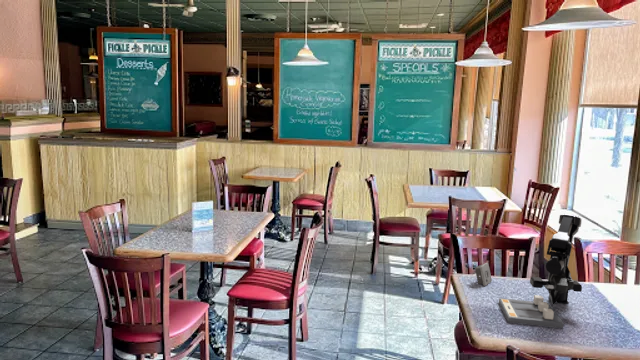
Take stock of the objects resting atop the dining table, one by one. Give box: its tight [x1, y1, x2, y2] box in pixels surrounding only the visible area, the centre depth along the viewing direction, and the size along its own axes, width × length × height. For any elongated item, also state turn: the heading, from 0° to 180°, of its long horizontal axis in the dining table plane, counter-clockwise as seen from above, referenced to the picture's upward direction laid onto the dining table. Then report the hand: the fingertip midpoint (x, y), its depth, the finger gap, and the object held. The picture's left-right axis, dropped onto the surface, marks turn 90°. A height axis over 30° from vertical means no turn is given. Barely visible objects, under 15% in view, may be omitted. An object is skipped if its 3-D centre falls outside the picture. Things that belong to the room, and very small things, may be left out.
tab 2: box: [543, 308, 554, 320], centre depth 181 cm, size 3×3×3 cm
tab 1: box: [538, 301, 549, 312], centre depth 188 cm, size 3×3×3 cm
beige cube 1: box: [533, 294, 544, 305], centre depth 195 cm, size 3×3×3 cm
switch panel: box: [498, 297, 565, 329], centre depth 189 cm, size 20×20×2 cm
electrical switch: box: [474, 262, 493, 287], centre depth 225 cm, size 9×5×9 cm, turn 141°
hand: (553, 303), depth 194 cm, fingers closed
